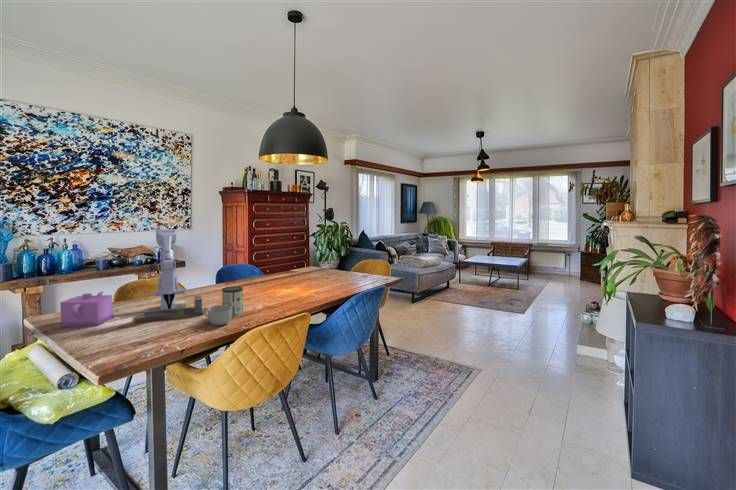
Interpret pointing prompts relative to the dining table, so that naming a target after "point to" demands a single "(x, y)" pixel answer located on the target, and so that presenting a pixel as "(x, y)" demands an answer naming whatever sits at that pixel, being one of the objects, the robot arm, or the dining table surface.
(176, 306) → the gauge slider
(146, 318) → the gauge base
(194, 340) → the dining table surface
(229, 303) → the coffee can
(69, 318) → the purple box
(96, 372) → the dining table surface
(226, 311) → the teacup
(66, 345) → the dining table surface
